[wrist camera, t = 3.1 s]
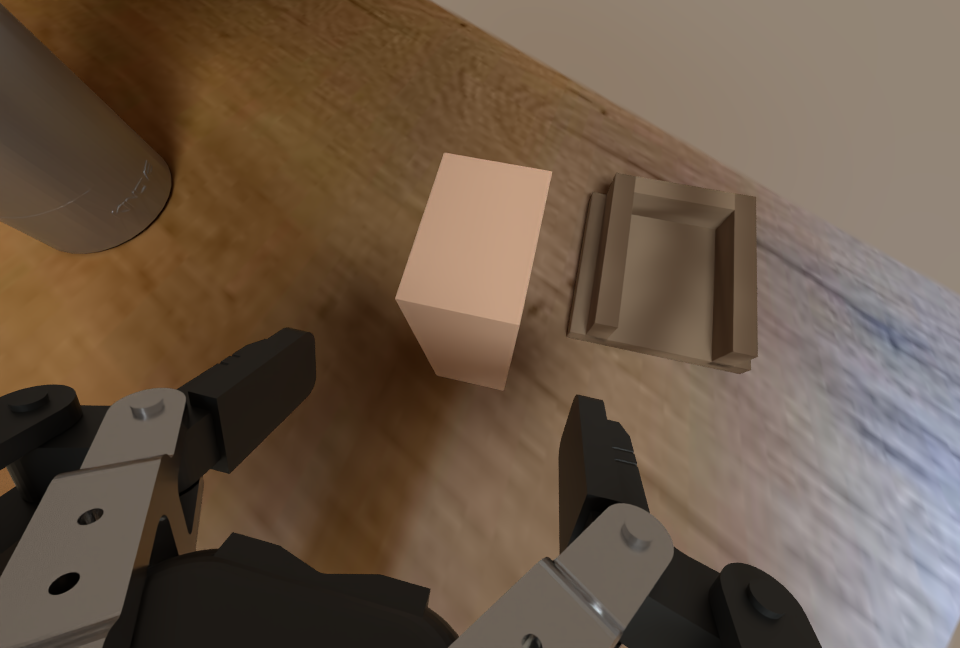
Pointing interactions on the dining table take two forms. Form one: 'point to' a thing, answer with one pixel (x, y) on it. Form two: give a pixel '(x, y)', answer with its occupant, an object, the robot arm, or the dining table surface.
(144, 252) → the dining table surface
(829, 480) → the dining table surface
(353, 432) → the dining table surface
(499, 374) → the clay block
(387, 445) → the dining table surface
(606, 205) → the tray
